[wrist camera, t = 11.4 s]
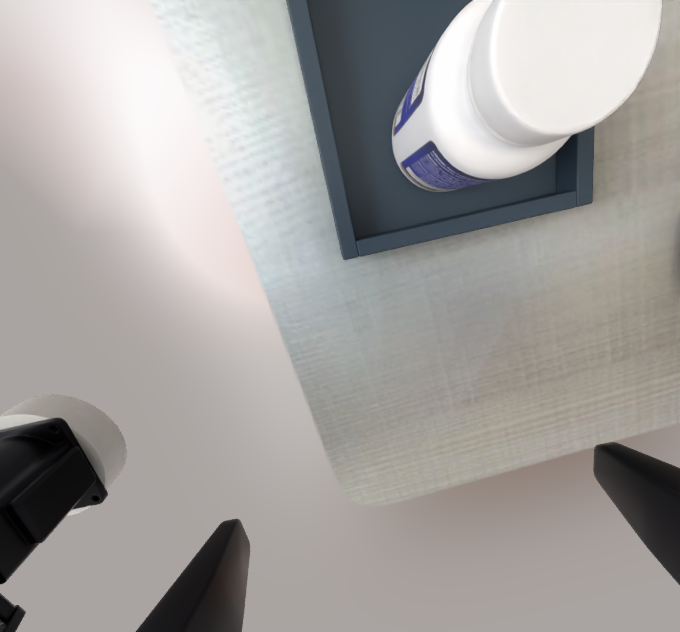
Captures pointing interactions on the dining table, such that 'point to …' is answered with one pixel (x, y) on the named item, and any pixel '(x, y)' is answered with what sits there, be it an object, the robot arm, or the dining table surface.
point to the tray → (377, 122)
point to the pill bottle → (519, 85)
